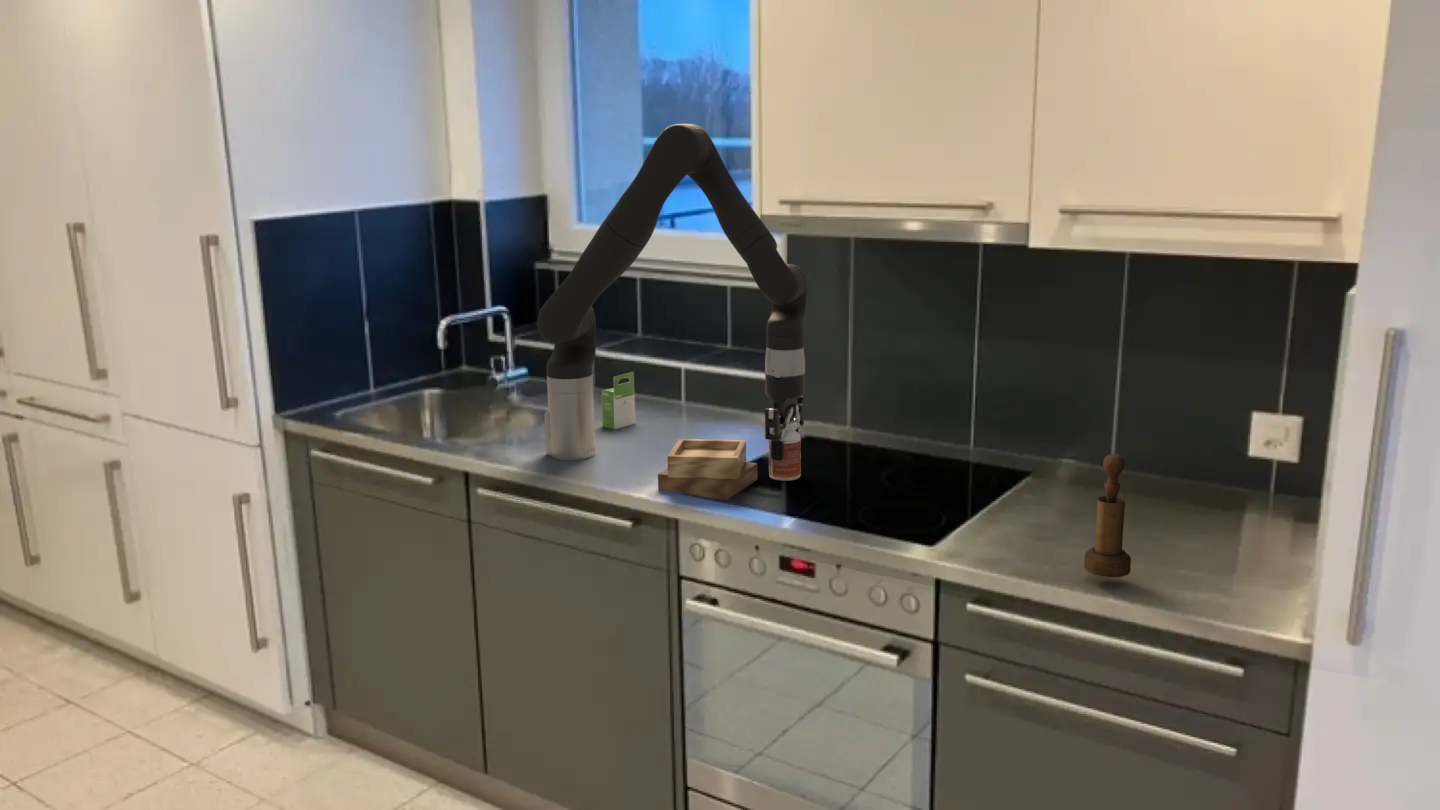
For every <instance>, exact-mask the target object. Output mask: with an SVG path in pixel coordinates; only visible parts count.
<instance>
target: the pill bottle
mask: <svg viewBox="0 0 1440 810" xmlns="http://www.w3.org/2000/svg"><path fill="white" fill-rule="evenodd" d="M781 425H782V424H781ZM796 429H797V421H795V420H793V421H791V422H789V426H788V430H787V431H785V433H784V438H783V459H782V460H781V461H778V460H772V458H771V440H768V475H769V478H771V479H772V480H775V481H785V482H786V481H787V482H790V481H794V480H795V481H796V480H798V479H799V478H800V477H801V475H802V474H801V473H802V472H801V471H802V467H801V465H802V463H801V462H802V461H801V458H802V456H801V452H802V451H801V450H802V449H801V444H802V443H801V442H802V440H801V438H802V437H801V435H800V433H798V432H799V431H798V432H796V431H795V430H796Z"/></svg>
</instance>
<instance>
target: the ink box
mask: <svg viewBox="0 0 1440 810" xmlns="http://www.w3.org/2000/svg"><path fill="white" fill-rule="evenodd" d="M634 374H635V372H634V371H631V372H628V373H623V374H619V375H615V376H613V379H612V380H613V387H611V388H607V389H603V390H601V410H602V411H601V416H602V417H601V419H602V421H601V422H602V427H603V428H608V429H610V430H617V429H621V428H626V427H628V426H632V425H635V424H636V423H637V421H636V399H635V398H636V396H635V391H636V389H635V375H634ZM623 379H628V380H629V381H627V382H622V383H620V384H619V382H620V381H621V380H623Z"/></svg>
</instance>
